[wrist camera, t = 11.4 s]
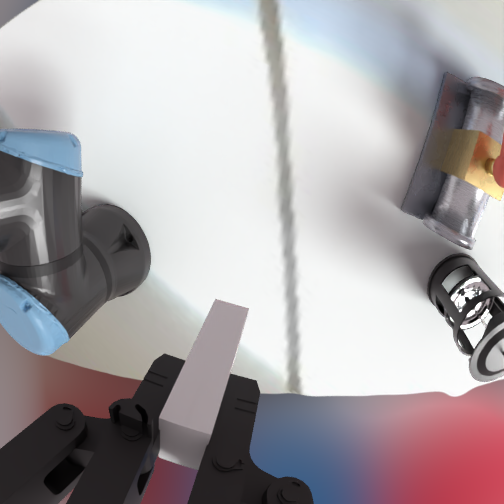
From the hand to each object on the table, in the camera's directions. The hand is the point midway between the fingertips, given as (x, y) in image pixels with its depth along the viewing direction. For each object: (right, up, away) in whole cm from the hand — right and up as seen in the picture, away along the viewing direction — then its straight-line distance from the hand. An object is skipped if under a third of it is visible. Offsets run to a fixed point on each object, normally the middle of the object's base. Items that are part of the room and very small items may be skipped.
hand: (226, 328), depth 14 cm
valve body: (+29, +16, +19) cm, 38 cm away
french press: (+32, -1, +26) cm, 41 cm away
